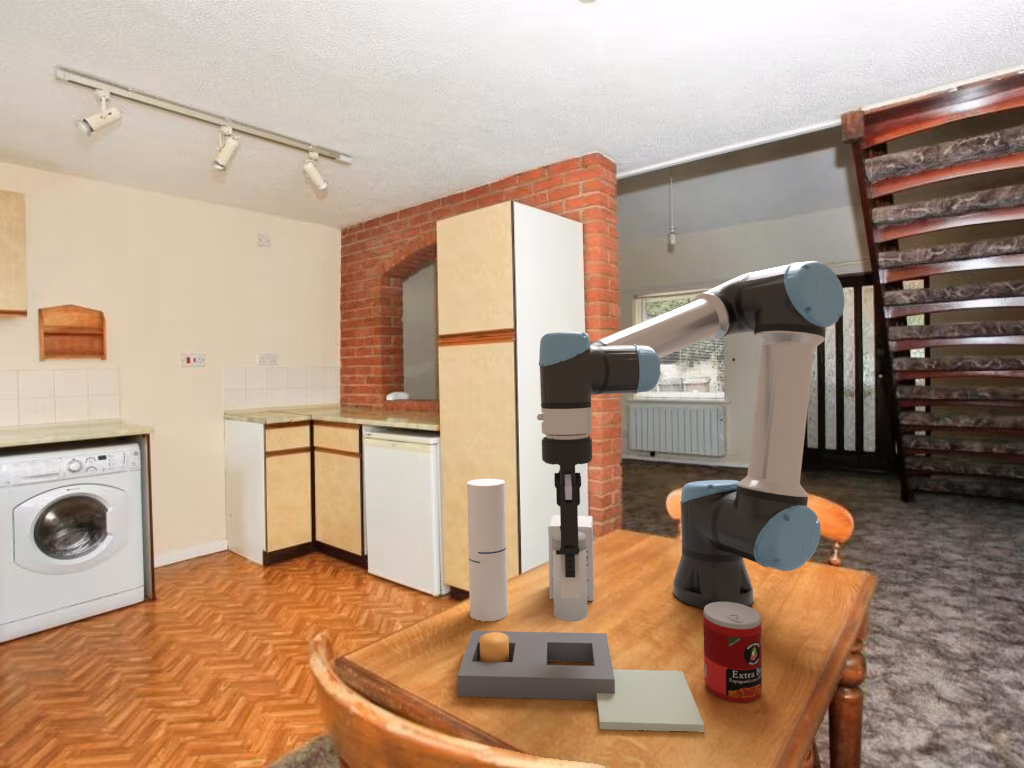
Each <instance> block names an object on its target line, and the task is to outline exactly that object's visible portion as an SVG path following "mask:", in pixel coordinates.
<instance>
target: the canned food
mask: <svg viewBox="0 0 1024 768" xmlns="http://www.w3.org/2000/svg"><path fill="white" fill-rule="evenodd" d="M702 614H703V615H702V616H703V623H702V624H703V675H704V676H703V678H704V682H705V686H706V688H707V689H708V691H709V692H710V693H712V694H713V695H714V696H716V697H718V698H720V699H722V700H723V701H724V700H725V701H728V702H731V703H737V702H738V704H744V703H745V704H746V702H747V703H751V702H753V701H756V700H758V698H759V697H760V695H761V693H762V688H763V682H762V681H763V677H762V676H763V675H762V672H763V665H762V661H763V660H762V658H763V657H762V655H763V654H762V653H763V652H762V645H763V644H762V642H763V641H762V634H763V633H762V632H763V631H762V618H761V617H762V616H761V614H760V612H759V611H757V609H754V608H752V607H750V606H745V605H742V604H739V603H734V602H714V603H710V604H708V605H706V606H705V607H704V608H703V613H702Z"/></svg>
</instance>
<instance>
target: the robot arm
mask: <svg viewBox="0 0 1024 768" xmlns="http://www.w3.org/2000/svg"><path fill="white" fill-rule="evenodd" d="M844 308H845V292H844V289H843V285H842V283H841V281H840V279H839V278H838V277H837V274H836V273H835V272H834V270H833V269H832V268H831V267H830V266H828V265H826V264H825V263H823V262H820V261H817V260H812V261H811V260H810V261H809V260H808V261H802V262H799V261H795V262H791V263H789V264H786V265H781V266H776V267H772V268H766V269H762V270H758V271H757V270H756V271H750V272H747V273H745V274H741V275H739V276H737V277H734V278H732V279H730V280H728V281H726V282H724V283H722V284H720V285H717V286H715V287H712V288H710V289H708V290H706V291H703V292H700V293H699V294H697V295H696V296H695V297H693V300H692V302H690V303H688V304H685V305H682V306H680V307H678V308H675V309H673V310H670V311H668V312H665V313H663V314H660V315H658V316H654V317H653V318H650V319H647V320H645V321H642V322H640V323H637V324H635V325H632V326H629V327H627V328H624V329H622V330H619V331H616V332H615V333H612V334H610V335H609V334H608V335H606V336H603V337H602V338H599V339H597V340H595V341H592V342H591V338H590V335H589V334H588V333H587V332H584V331H581V332H580V331H562V332H561V331H559V332H558V331H557V332H550V333H545V334H544V335H543V336H542V337H541V338H540V341H539V355H538V356H539V359H538V366H539V381H540V382H539V383H540V384H539V385H540V386H539V387H540V408H541V409H540V410H541V413H538V414H537V416H536V420H538V421H541V433H542V434H543V435H545V437H542V439H541V458H542V459H541V460H542V461H543V462H544V463H545V464H548V465H558V466H559V470H558V472H554V474H553V475H554V488H555V490H556V491H555V492H556V505H557V506H558V507H559V513H560V514H559V515H560V521H561V525H560V530H561V548H560V550H556V555H560V566H561V598H580V579H579V551H580V550H579V547H578V516H579V515H578V513H579V511H578V509H579V508H578V506H579V505H581V495H580V494H581V493H580V492H581V487H582V476H581V472H576V466H577V465H585V464H588V463H590V462H592V460H593V439H592V437H590V436H589V435H591V433H593V420H592V419H593V418H592V417H593V416H592V415H593V412H592V411H593V410H592V409H593V407H592V396H593V395H595V396H596V395H616V394H618V395H619V394H634V395H636V394H638V393H647V392H650V391H652V390H653V389H655V387H656V386H657V385H658V383H659V381H660V377H661V371H662V370H661V360H660V359H662V358H665V357H666V356H669V355H672V354H673V353H676V352H678V351H680V350H683V349H684V348H685V349H686V348H687V347H689V346H691V345H694V344H697V343H699V342H701V341H703V340H706V339H709V340H719V339H721V338H724V337H727V336H730V335H734V334H737V335H738V334H743V333H753V337H754V339H755V340H756V341H757V342H758V343H759V345H760V346H761V349H760V358H759V366H758V367H759V368H758V377H757V385H756V386H757V387H756V392H755V404H754V412H753V421H752V431H751V440H750V450H749V458H748V467H747V468H748V469H747V475H746V476H745V477H744V478H743V479H741V480H740V481H739V480H735V479H714V480H713V479H711V480H710V479H709V480H698V481H690V482H688V483H685V484H684V485H683V487H682V488H681V495H680V496H681V497H680V499H681V500H680V502H679V503H680V522H681V523H680V524H681V525H680V526H681V528H680V529H681V556H680V559H679V560H680V561H679V563H678V566H677V568H676V569H677V570H676V571H675V576H674V578H673V582H672V583H673V586H672V587H673V591H672V592H673V595H674V596H675V598H677V599H678V600H679V601H681V602H683V603H684V604H687V605H690V606H691V607H696V608H699V609H704V607H705V606H706V605H708V604H710V603H714V602H734V603H739V604H742V605H745V606H748V607H750V606H751V605H752V604H753V602H754V588H753V585H752V582H751V579H750V576H749V573H748V570H747V567H746V564H745V561H744V559H746V560H748V561H751V562H753V563H754V562H755V563H757V564H758V565H760V566H762V567H763V568H769V569H770V568H771V569H774V570H778V571H781V572H791V571H794V570H797V569H799V568H801V567H802V566H804V565H805V564H806V563H807V561H809V560H810V559H811V558H812V557H813V556H814V554H815V552H816V550H817V548H818V546H819V542H820V539H821V538H820V537H821V533H822V532H821V529H822V528H821V522H820V521H819V517H818V515H817V513H816V512H815V511H814V510H813V509H811V507H808V503H809V502H808V501H809V500H808V499H809V493H807V491H806V490H805V489H804V487H803V486H802V484H801V475H802V474H801V473H802V464H803V455H804V446H805V437H806V435H805V434H806V429H807V428H806V426H807V420H808V419H807V417H808V407H809V399H810V390H811V389H810V388H811V382H812V381H811V379H812V371H813V362H814V352H815V348H817V347H818V346H819V345H821V344H822V343H823V342H825V339H826V331H827V330H826V329H827V328H828V327H831V326H833V325H835V324H836V323H837V322H839V319H840V318H841V317H842V315H843V313H844Z"/></svg>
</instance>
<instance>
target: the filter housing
mask: <svg viewBox="0 0 1024 768" xmlns="http://www.w3.org/2000/svg"><path fill="white" fill-rule="evenodd" d="M491 632H499V633H503V634H506V635H507V636H508V638H509V662H480V637H481V636H482V635H484V634H487V633H491ZM470 633H471V634H470V637H469V640H468V643H467V645H466V648H465V651H464V654H463V657H462V660H461V663H460V666H459V669H458V673H457V676H456V677H457V680H456V681H457V697H465V698H466V697H469V698H470V697H471V698H502V699H503V698H504V699H506V698H507V699H535V700H536V699H538V700H540V699H541V700H542V699H543V700H545V699H546V700H573V701H574V700H576V701H597V693H610V694H615V678H614V673H613V669H614V668H613V664H612V656H611V651H610V646H609V641H608V640H609V639H608V636H607V635H608V634H607V633H605V632H562V631H561V632H559V631H558V632H556V631H555V632H554V631H553V632H551V631H548V632H547V631H539V632H538V631H504V630H503V631H499V630H496V631H494V630H471V632H470ZM548 662H566V663H567V662H569V663H570V662H572V663H575V662H576V663H578V662H579V663H581V662H582V663H592V665H573V664H569V665H565V664H562V665H561V664H548Z"/></svg>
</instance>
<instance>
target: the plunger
mask: <svg viewBox="0 0 1024 768" xmlns="http://www.w3.org/2000/svg"><path fill="white" fill-rule="evenodd" d="M479 662H509V638H508V636H507V635H506V634H503V633H499V632H491V633H487V634H484V635H482V636H481V637H480V661H479Z"/></svg>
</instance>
